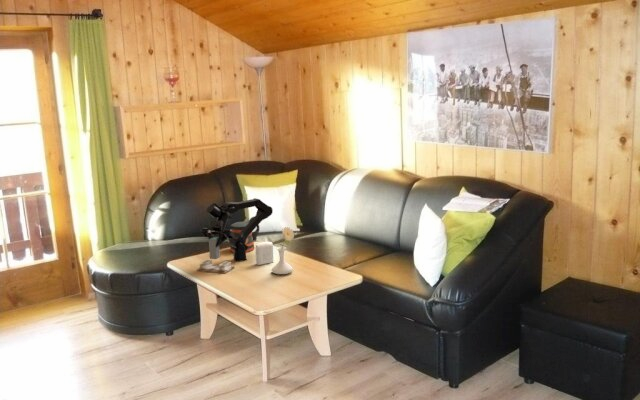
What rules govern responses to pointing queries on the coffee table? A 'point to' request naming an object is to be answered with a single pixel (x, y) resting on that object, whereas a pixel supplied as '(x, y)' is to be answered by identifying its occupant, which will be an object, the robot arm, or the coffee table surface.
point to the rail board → (215, 267)
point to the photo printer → (264, 253)
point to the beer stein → (251, 238)
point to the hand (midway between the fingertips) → (212, 246)
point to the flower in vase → (282, 265)
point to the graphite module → (214, 248)
